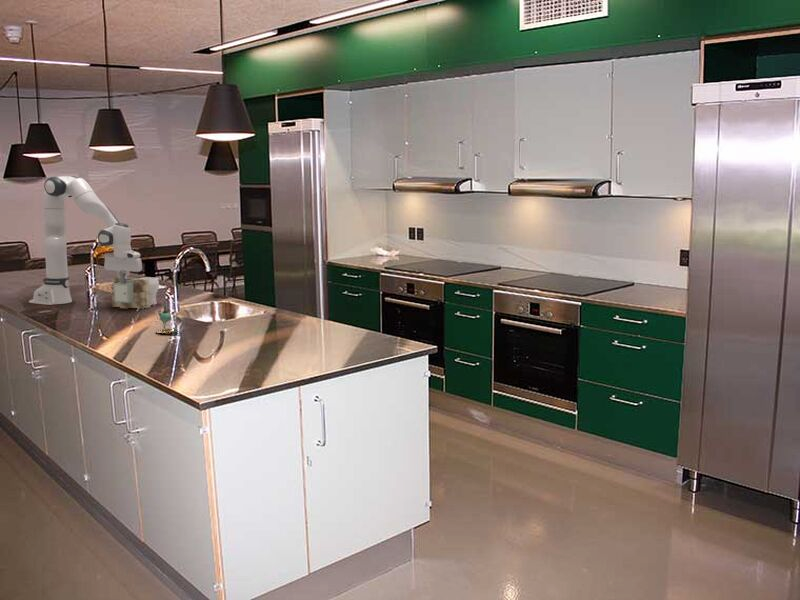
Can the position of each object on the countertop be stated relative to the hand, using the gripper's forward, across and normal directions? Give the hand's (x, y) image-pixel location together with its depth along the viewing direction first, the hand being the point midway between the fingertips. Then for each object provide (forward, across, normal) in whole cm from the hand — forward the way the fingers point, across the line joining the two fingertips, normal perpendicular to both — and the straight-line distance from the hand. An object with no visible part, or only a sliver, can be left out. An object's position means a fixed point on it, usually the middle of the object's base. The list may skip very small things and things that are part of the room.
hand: (123, 279), depth 408 cm
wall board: (+17, 0, +7) cm, 18 cm away
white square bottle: (+12, 0, 0) cm, 12 cm away
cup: (+17, +6, +17) cm, 25 cm away
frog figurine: (+17, +47, -49) cm, 70 cm away
